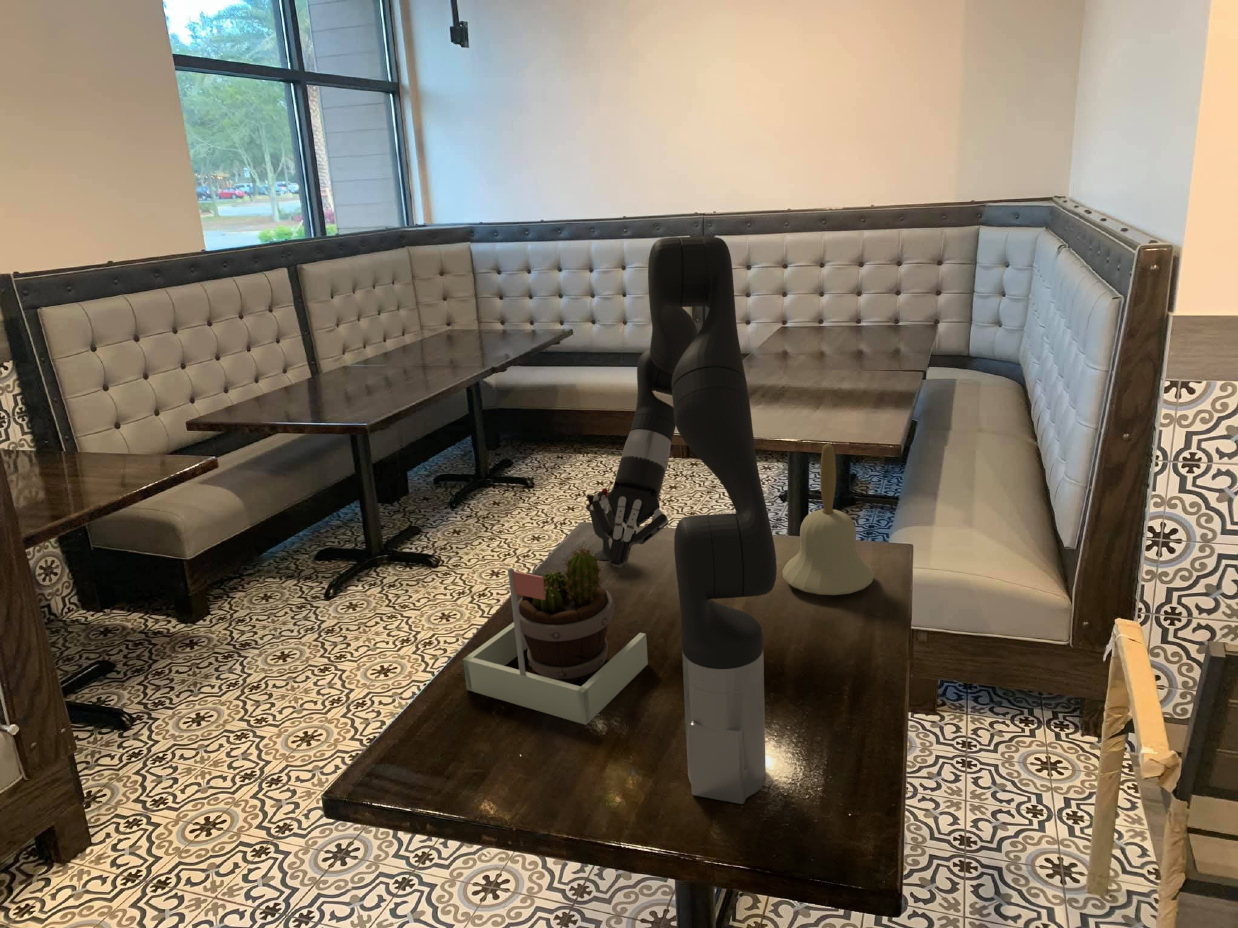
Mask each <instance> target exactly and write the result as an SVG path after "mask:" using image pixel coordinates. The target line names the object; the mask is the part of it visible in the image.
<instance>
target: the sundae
mask: <svg viewBox="0 0 1238 928" xmlns="http://www.w3.org/2000/svg"><path fill="white" fill-rule="evenodd" d="M612 485H614V482H613V481H609V483H608V484H607V485H606V487H604V488H602V489H601V491H599V492H597V493H596V494H594V495H592V494H587V495H586V496H587V497H586V498H587V500H588V503H587V504H586V505H585V509H586V511H588V512H589V515H590V519H591V524H592V529H593V531H594V533H595V535H596V536H597V538H600V539H602V548H601V550H598V551H596V552H595V553H593V556H594V557H596V554H597V557H598V556H599V557H598V559H599V560H598V559H597V560H598V561H602V560H607V561H610V560H609V557H608V556H609V552H610V548H611V546H610V542H609V540H610V539H611V538H609V537H607V535H606V534H605V533H604V531H603V529H602V527H601V524H600V522H599V520H598V517H597V515H596V513H595V510H594V508H593V506H592V503H593V502H594V501H598V502H599V501H602V500H604V499H606V498H607V496H608V494H609V492H610V487H611V486H612ZM608 509H609V511H608V513H607V514H606V516H607V518H608V521H609V523H610V525H611V528H612V529H613V530H614V528H615V519H616V518H615V516H614V514H613V512H612V509H611V507H610V505H609V506H608ZM600 554H601V555H600Z"/></svg>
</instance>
